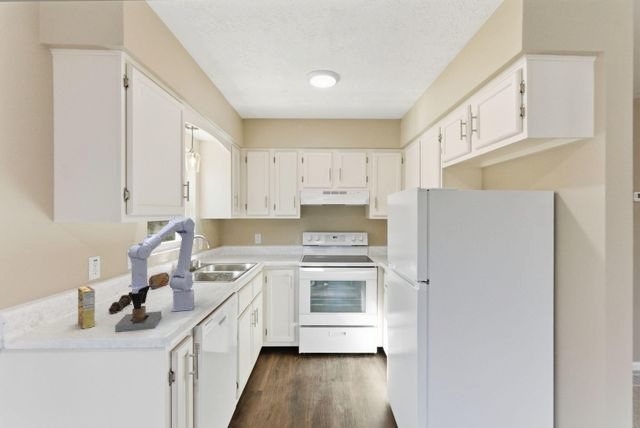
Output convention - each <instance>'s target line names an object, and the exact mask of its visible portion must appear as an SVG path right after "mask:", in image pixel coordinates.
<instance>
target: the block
mask: <svg viewBox="0 0 640 428" xmlns="http://www.w3.org/2000/svg"><path fill="white" fill-rule="evenodd" d="M146 307H147V306H146V305H141V308H140V309H134V307H133V308H132V313H131V314H132V321H138V320H146V313H147V312H146Z"/></svg>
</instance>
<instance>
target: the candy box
mask: <svg viewBox="0 0 640 428" xmlns="http://www.w3.org/2000/svg"><path fill="white" fill-rule="evenodd" d="M95 292H96V291H95V289H94V288H92V287H91V286H81V287H77V324H78V325H79V326H80V327H81V328H82V329H83V330H84V329H89V328H93V327H95V312H96V311H95V307H96V306H95V305H96V303H95V302H96V301H95V294H96V293H95Z"/></svg>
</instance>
